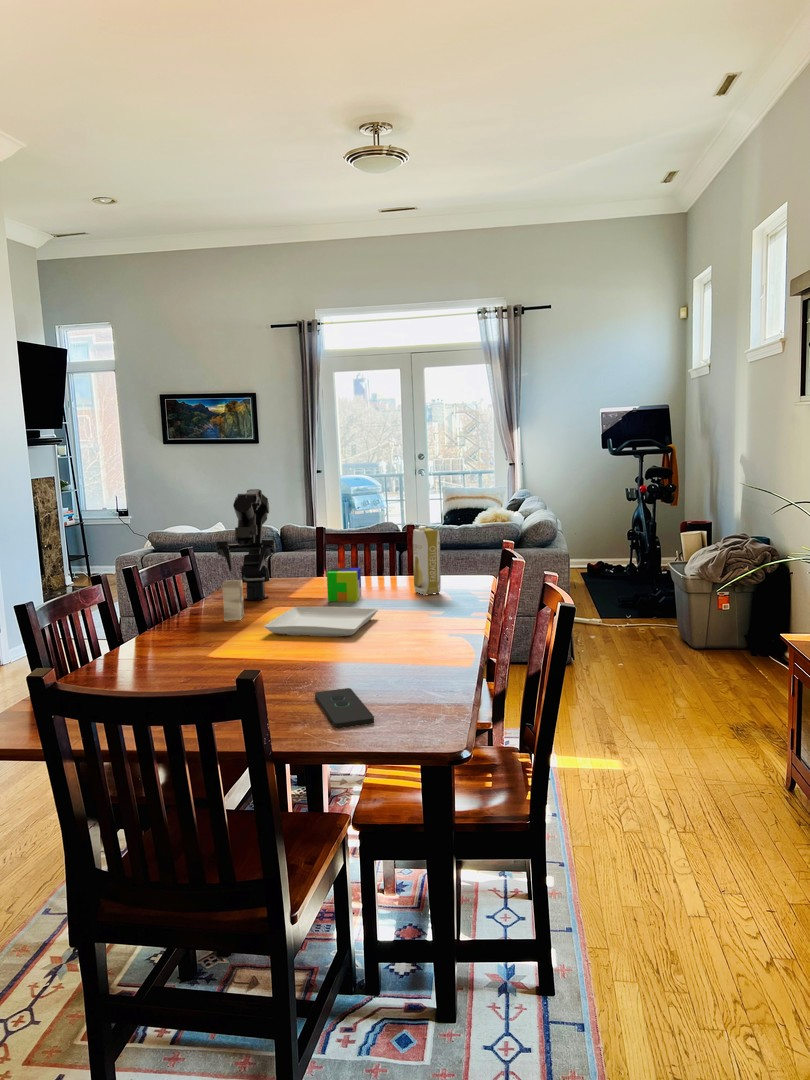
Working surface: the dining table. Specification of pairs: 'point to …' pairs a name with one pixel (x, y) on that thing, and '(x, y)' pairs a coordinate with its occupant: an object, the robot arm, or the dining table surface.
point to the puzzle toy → (344, 584)
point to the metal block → (233, 600)
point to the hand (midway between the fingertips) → (244, 570)
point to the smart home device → (344, 708)
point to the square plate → (321, 621)
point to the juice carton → (426, 560)
